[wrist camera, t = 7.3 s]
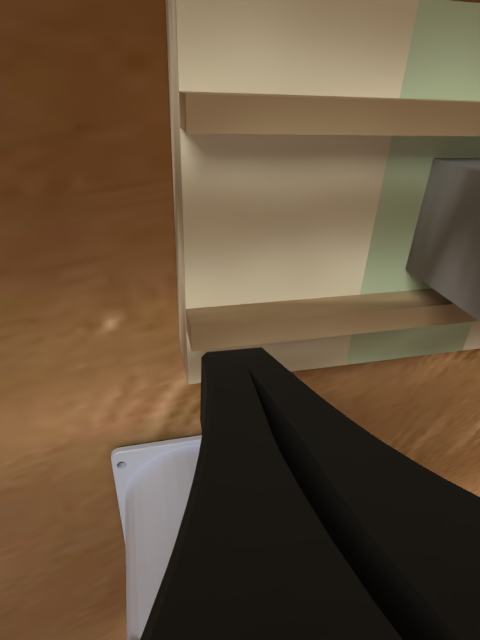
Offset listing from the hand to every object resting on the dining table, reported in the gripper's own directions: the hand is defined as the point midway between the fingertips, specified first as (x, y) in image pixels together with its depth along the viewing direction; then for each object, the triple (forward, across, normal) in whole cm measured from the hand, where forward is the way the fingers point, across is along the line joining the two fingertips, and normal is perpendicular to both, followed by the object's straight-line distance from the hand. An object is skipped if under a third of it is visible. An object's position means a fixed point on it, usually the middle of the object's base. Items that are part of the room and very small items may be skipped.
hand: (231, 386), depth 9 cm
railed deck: (+10, -11, -2) cm, 15 cm away
